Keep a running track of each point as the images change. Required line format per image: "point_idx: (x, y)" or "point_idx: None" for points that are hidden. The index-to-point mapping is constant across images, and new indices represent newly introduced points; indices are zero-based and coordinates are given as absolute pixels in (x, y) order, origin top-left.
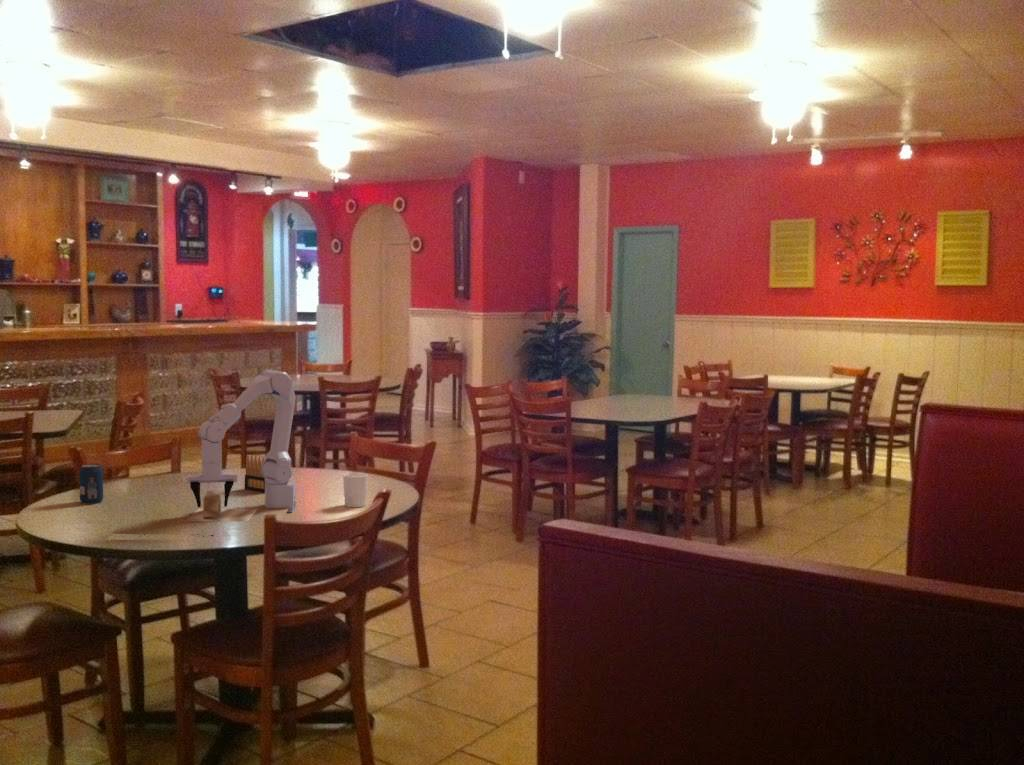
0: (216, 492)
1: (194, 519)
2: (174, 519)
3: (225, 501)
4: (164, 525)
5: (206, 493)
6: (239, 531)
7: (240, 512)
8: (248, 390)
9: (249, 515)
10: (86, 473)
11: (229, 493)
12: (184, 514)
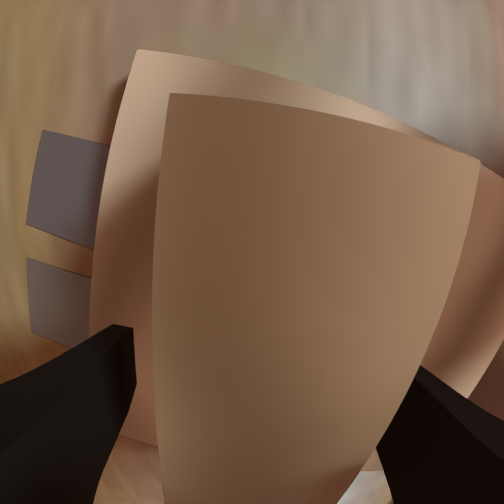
0: (369, 341)
1: (134, 416)
2: (11, 233)
3: (385, 449)
4: (8, 355)
5: (161, 380)
6: (344, 498)
7: (463, 297)
8: None
9: (469, 379)
10: None
11: (486, 421)
12: (55, 86)
